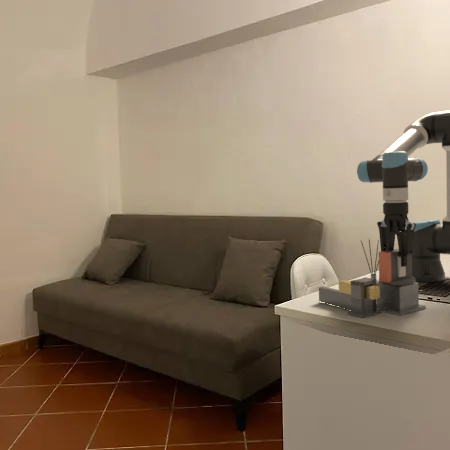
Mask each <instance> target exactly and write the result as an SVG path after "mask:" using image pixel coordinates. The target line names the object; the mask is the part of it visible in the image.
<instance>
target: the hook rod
mask: <svg viewBox="0 0 450 450" xmlns="http://www.w3.org/2000/svg"><path fill="white" fill-rule="evenodd" d="M351 281H352V280H347V279H343V280H339V281H338V290H339V292H341V293H346V294H350V295H351ZM364 298H368V299H372V300H374V299H376V300H377V299H378V298H380V287H379V286H374V285H366V286H364Z"/></svg>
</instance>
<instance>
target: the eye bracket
mask: <svg viewBox="0 0 450 450" xmlns="http://www.w3.org/2000/svg"><path fill="white" fill-rule="evenodd" d="M376 279H377V278H376ZM376 279H371V277H370V278H369V277H362V278H358V279H353V280H350V281H351V295H350V294H346V293H341V292H339V289H335V288H333V287H331V288H330V287H327V286H319V287H318V302H319V301H321V302H325V303H328V304H332V305H335V306H339V307H341V308H345V309H348V310H346V314H347V313H348V314H351V315H350V316H352V315H354V316H353V317H356V316H357V317H356V318H359V317H361V318H360V319H363V318H362V317H364V318H367V317H370V315H371V316H374V314H375V315H377V314H382V313H383V311H382V310H379V309H377V299H374V300H372V299H368V298H364V286H366V285H374V286H376ZM341 308H340V309H341ZM345 309H344V310H345ZM349 310H351V311H349ZM348 314H347V315H348ZM366 316H367V317H366Z"/></svg>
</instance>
